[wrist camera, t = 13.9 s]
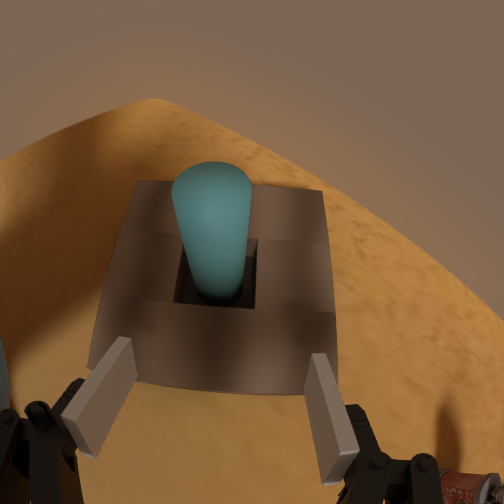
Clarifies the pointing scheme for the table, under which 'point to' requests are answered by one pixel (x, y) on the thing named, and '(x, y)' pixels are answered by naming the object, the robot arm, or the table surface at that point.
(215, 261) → the pin
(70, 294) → the table surface
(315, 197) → the hole board
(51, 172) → the table surface
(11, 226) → the table surface
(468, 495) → the lighter
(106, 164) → the table surface
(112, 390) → the robot arm
